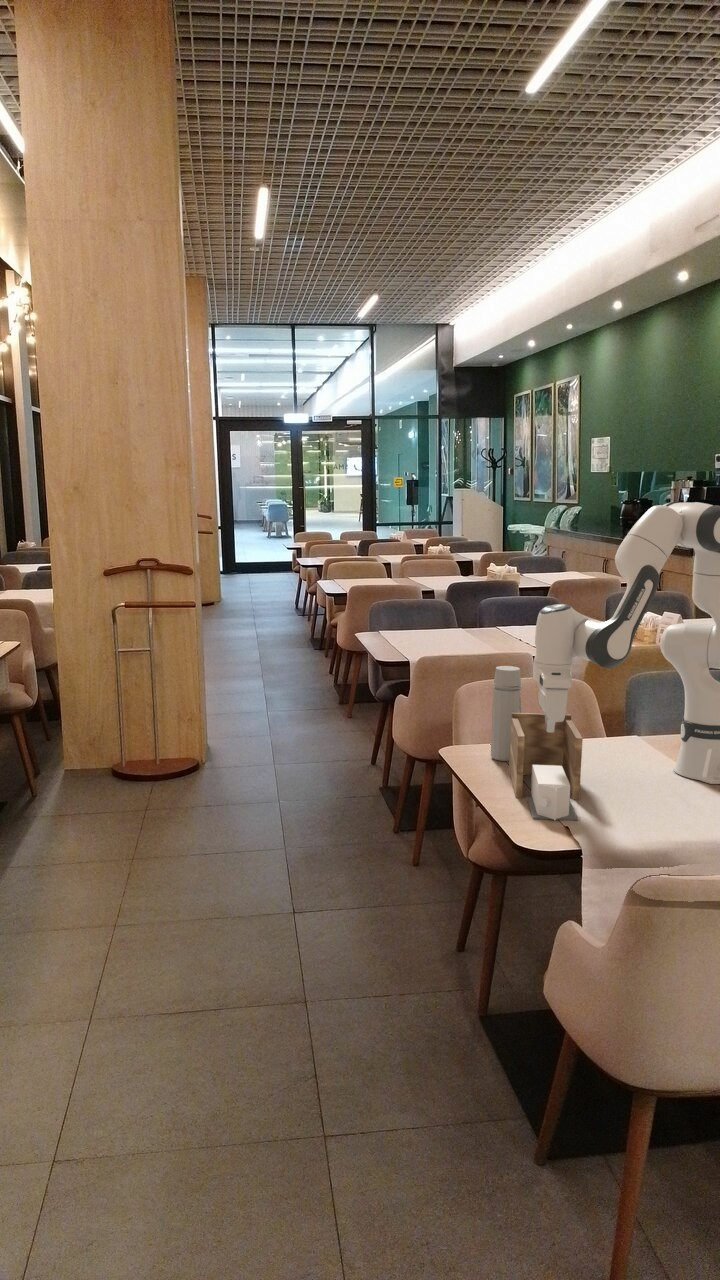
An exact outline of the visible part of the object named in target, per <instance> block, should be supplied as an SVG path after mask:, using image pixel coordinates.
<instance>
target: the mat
mask: <svg viewBox="0 0 720 1280" xmlns="http://www.w3.org/2000/svg"><path fill="white" fill-rule="evenodd" d="M525 797H526V801H527V804H528V807H529V808H528V809H529V811H530V814H531V817H532V819H533V820H550V821H551V820H552V821H553V820H554V819H551V818H548V817H545V816H541V815H538V814H537V812H536V808H535V805H534V801H533V798H532V796H525ZM556 820H558V821H579V818H578V816H577V813H576V810H575V807H574V806H573V804H572V802H571V800H570V801H569V815H568V816H565V817H561V818H558V819H556ZM556 820H555V821H556Z"/></svg>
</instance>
